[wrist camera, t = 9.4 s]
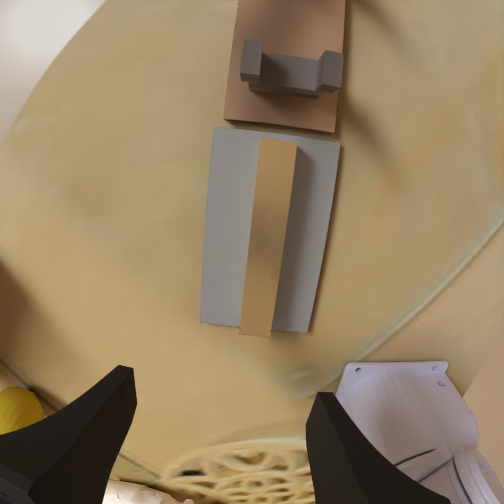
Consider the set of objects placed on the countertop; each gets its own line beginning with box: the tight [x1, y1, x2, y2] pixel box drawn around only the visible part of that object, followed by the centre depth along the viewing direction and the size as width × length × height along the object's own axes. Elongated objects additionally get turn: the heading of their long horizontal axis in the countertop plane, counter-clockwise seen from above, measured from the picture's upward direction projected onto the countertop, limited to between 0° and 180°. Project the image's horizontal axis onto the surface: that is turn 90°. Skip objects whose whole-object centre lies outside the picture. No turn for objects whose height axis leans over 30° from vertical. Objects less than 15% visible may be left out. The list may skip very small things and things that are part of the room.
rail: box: [239, 138, 297, 337], centre depth 18 cm, size 2×11×2 cm, turn 174°
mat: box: [200, 127, 341, 333], centre depth 19 cm, size 7×12×1 cm, turn 174°
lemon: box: [0, 387, 44, 435], centre depth 21 cm, size 6×6×8 cm
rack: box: [223, 0, 345, 133], centre depth 13 cm, size 6×13×5 cm, turn 174°
